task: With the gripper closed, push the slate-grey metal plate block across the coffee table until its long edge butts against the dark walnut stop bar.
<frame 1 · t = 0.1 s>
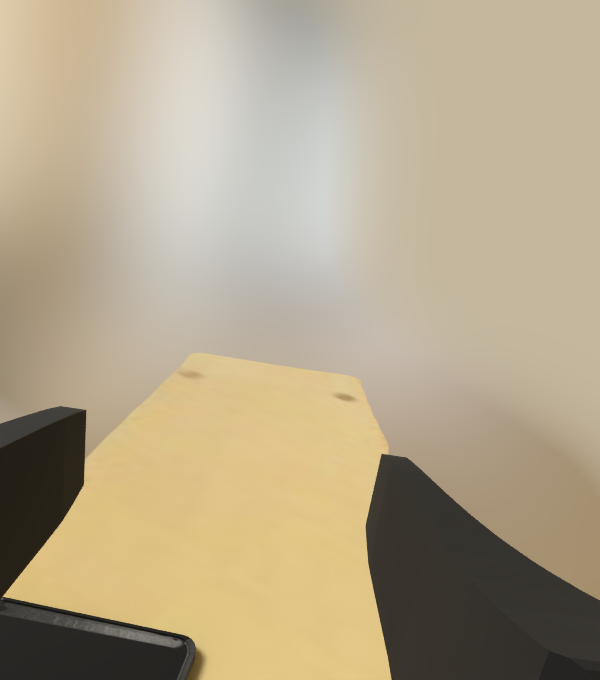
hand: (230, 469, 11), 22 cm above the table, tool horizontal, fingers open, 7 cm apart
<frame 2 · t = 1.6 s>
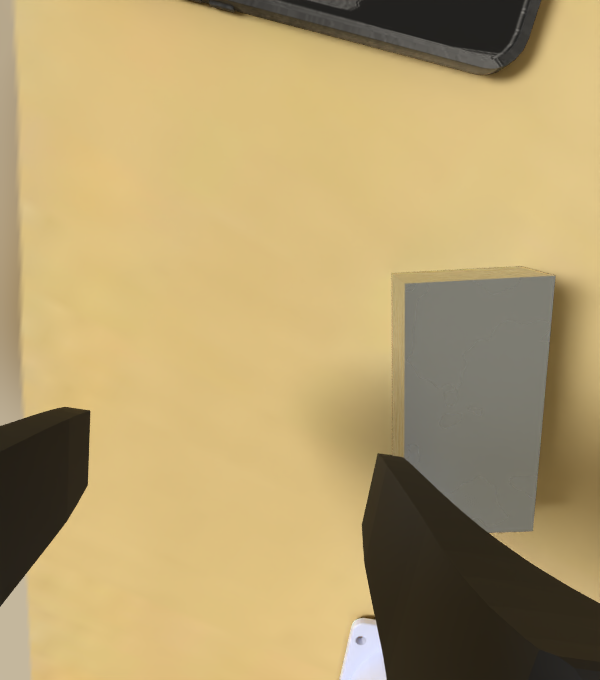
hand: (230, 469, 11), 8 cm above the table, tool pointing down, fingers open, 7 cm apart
plate block: (449, 386, 20), on the table
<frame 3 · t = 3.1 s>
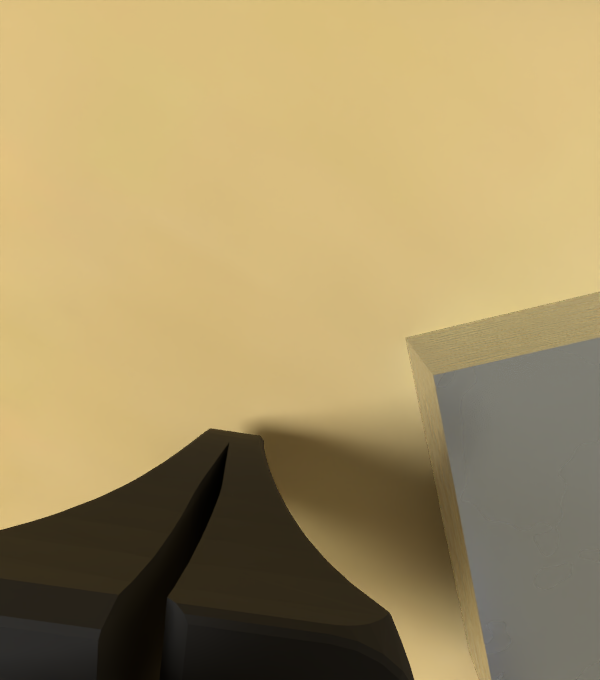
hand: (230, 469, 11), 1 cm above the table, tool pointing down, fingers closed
plate block: (528, 484, 13), on the table
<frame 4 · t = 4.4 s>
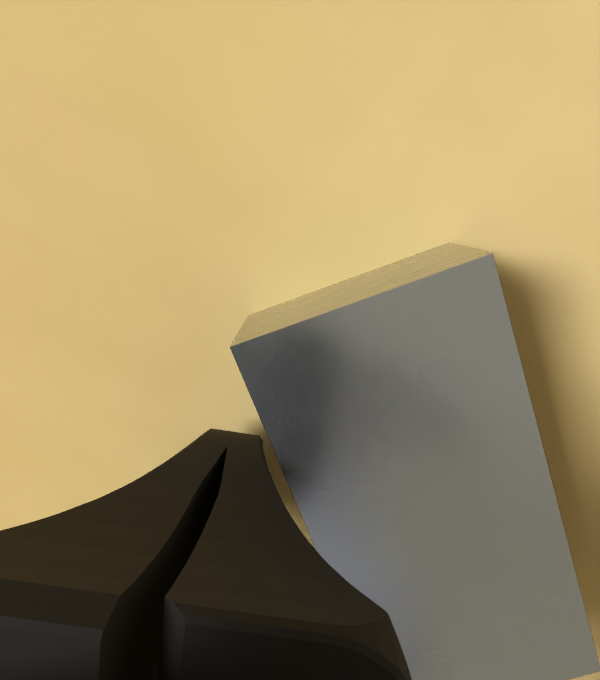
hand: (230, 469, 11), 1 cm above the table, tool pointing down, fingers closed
plate block: (404, 452, 13), on the table
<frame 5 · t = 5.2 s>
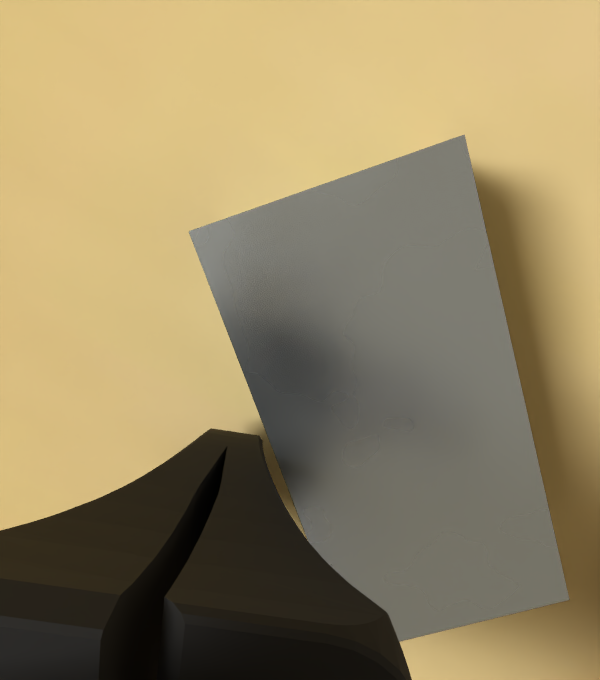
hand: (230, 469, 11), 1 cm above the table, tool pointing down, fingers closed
plate block: (377, 382, 12), on the table, touching gripper
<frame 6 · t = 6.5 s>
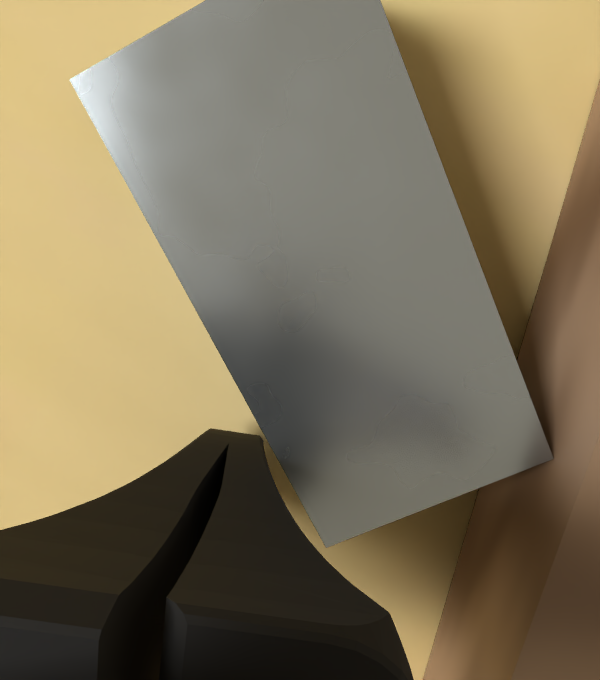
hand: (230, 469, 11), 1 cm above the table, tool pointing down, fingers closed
plate block: (328, 268, 11), on the table
walnut stop bar: (535, 493, 12), on the table
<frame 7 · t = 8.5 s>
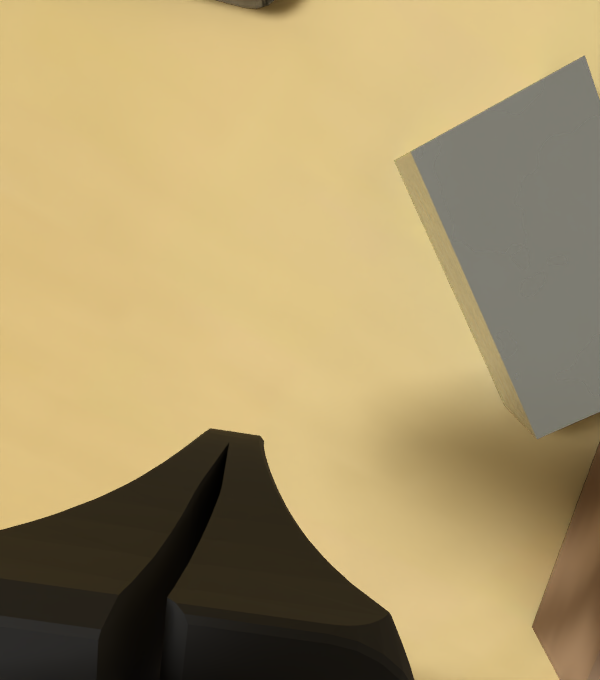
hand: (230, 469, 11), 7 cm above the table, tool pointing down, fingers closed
plate block: (515, 257, 17), on the table
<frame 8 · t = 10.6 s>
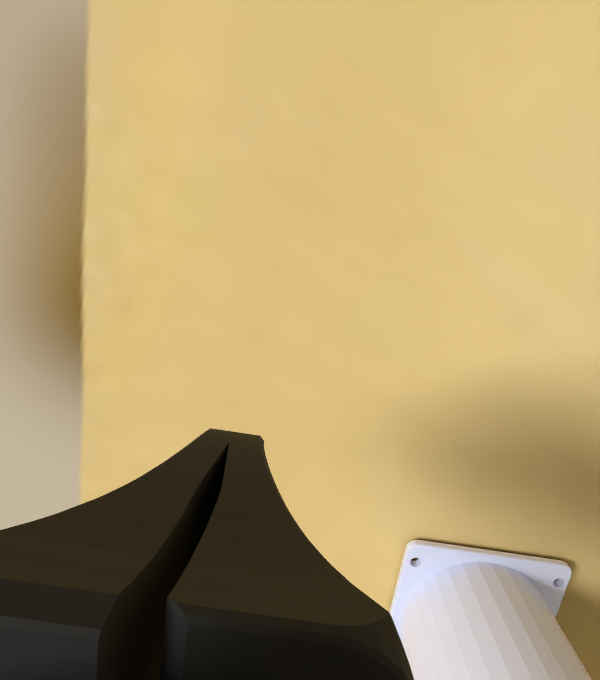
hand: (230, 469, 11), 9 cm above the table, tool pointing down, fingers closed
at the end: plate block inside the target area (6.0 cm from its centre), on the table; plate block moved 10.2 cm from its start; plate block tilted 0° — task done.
